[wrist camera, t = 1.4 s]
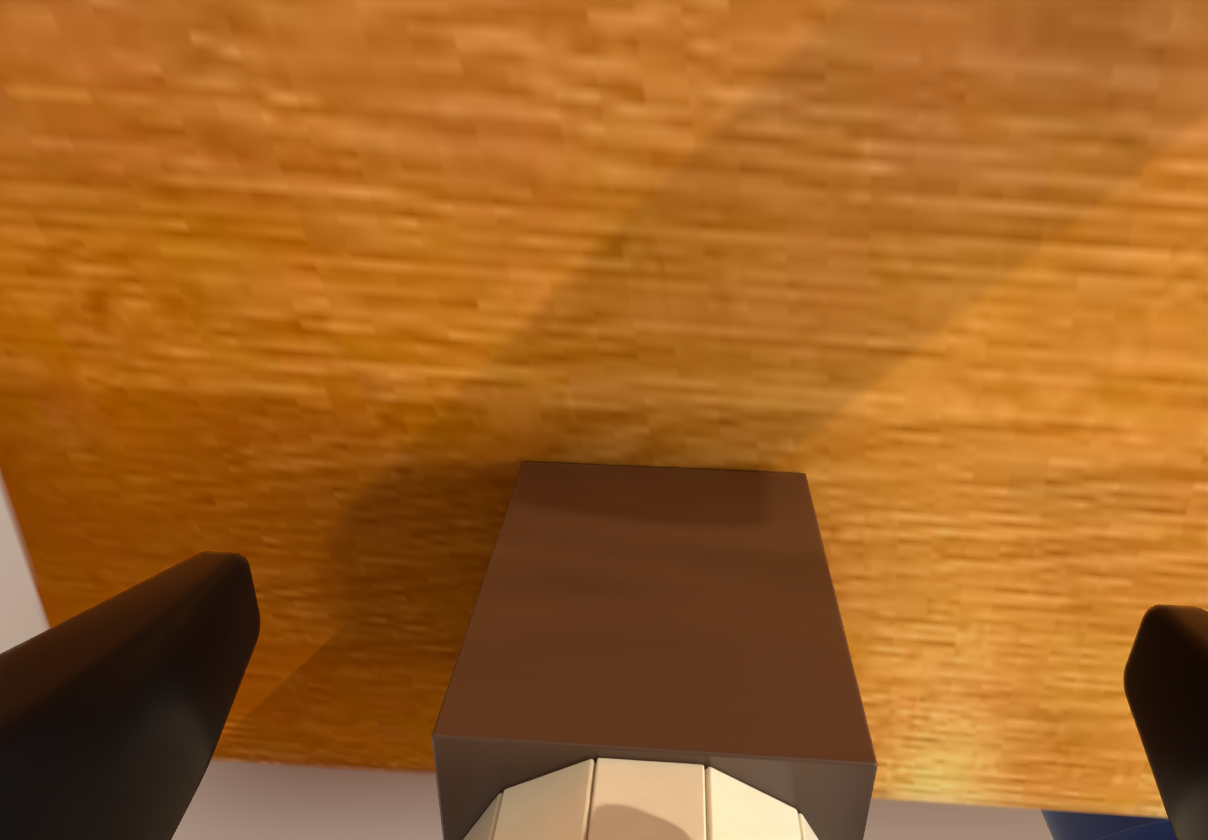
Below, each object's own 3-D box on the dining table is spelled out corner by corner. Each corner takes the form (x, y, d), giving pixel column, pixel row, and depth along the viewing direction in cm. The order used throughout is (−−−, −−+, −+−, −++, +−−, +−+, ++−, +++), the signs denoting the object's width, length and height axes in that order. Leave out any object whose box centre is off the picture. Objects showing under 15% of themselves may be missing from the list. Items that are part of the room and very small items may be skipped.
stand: (779, 690, 25) (825, 1032, 17) (531, 675, 25) (460, 1000, 17) (806, 472, 22) (879, 764, 14) (521, 460, 22) (430, 735, 14)
